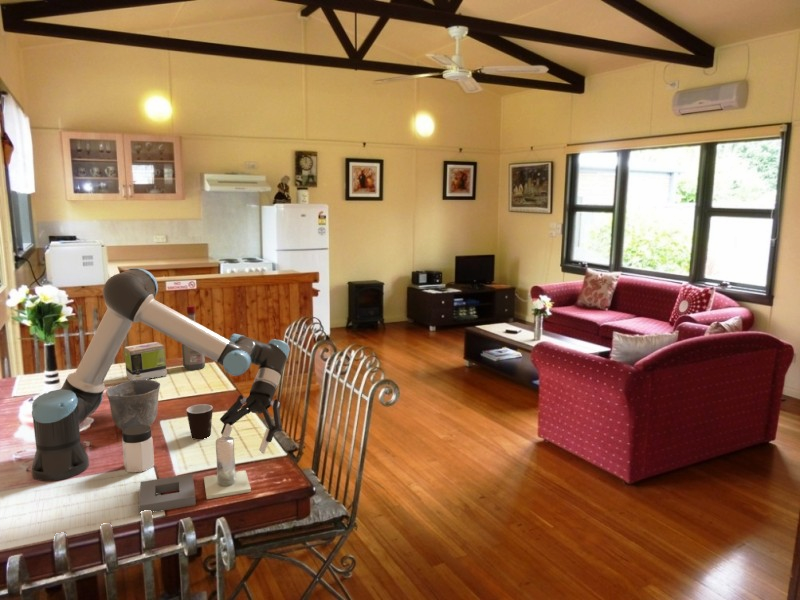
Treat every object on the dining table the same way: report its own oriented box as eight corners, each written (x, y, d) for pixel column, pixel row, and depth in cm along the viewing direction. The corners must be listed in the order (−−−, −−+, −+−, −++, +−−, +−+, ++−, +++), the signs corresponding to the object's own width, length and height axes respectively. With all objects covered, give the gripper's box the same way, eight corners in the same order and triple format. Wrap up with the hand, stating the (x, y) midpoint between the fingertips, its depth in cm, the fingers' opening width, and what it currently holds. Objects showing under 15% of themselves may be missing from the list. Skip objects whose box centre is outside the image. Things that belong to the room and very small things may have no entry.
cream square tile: (206, 499, 164) (206, 496, 163) (203, 479, 175) (203, 476, 174) (251, 491, 168) (250, 488, 168) (245, 473, 179) (245, 470, 179)
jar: (158, 460, 187) (155, 424, 185) (150, 472, 179) (147, 434, 177) (128, 461, 186) (126, 425, 184) (119, 473, 178) (116, 435, 176)
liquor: (206, 368, 284) (202, 307, 278) (186, 371, 279) (182, 309, 274) (201, 363, 291) (198, 304, 286) (182, 366, 287) (179, 305, 282)
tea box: (159, 371, 279) (157, 340, 276) (167, 376, 271) (165, 345, 269) (125, 377, 269) (123, 345, 267) (132, 382, 262) (130, 350, 259)
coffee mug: (206, 442, 201) (204, 414, 199) (183, 439, 203) (181, 412, 201) (222, 429, 212) (221, 402, 210) (200, 426, 214) (199, 400, 212)
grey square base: (139, 514, 156) (138, 505, 155) (141, 489, 168) (140, 481, 168) (195, 504, 161) (195, 496, 160) (193, 481, 173) (192, 473, 173)
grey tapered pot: (108, 422, 217) (105, 383, 214) (160, 414, 225) (157, 377, 222) (110, 440, 201) (106, 398, 199) (165, 431, 209) (162, 391, 207)
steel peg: (218, 487, 168) (216, 444, 166) (216, 480, 172) (214, 438, 170) (236, 485, 170) (234, 442, 167) (234, 477, 174) (232, 435, 172)
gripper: (304, 394, 188) (283, 458, 177) (235, 386, 195) (211, 447, 184) (296, 383, 182) (274, 449, 171) (225, 375, 189) (199, 438, 178)
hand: (241, 448), depth 177 cm, fingers open, 13 cm apart
